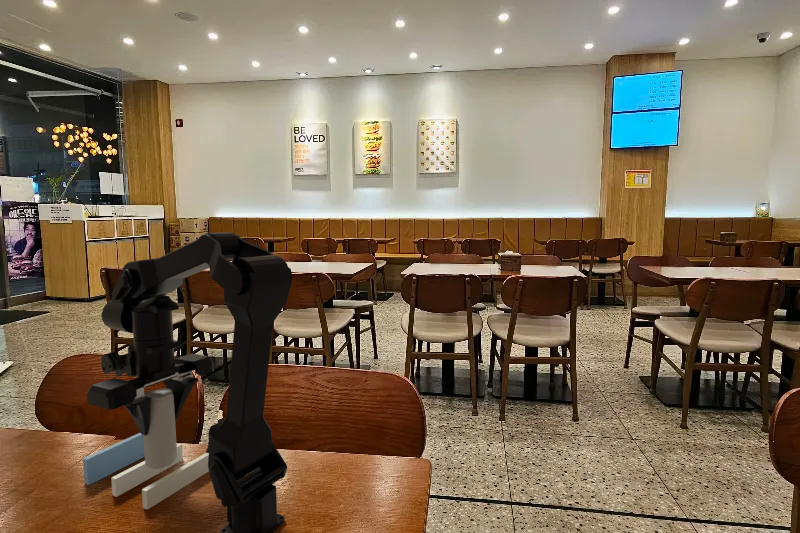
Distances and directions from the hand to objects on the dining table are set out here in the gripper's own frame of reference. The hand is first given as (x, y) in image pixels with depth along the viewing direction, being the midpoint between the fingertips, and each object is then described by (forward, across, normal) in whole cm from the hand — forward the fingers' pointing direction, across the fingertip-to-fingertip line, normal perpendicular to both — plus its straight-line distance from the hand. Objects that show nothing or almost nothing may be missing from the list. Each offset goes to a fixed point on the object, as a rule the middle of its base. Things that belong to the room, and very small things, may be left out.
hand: (159, 428), depth 74 cm
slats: (+10, 0, -4) cm, 10 cm away
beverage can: (+6, 0, 0) cm, 6 cm away
